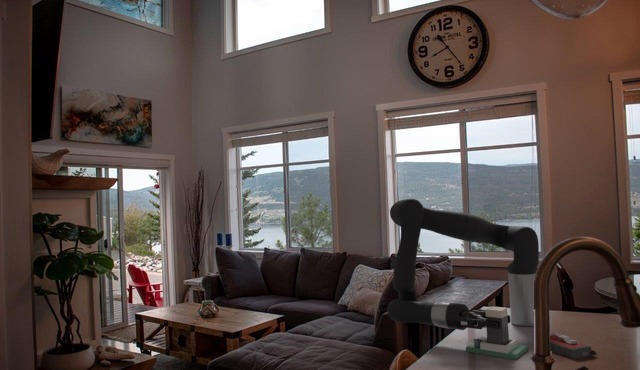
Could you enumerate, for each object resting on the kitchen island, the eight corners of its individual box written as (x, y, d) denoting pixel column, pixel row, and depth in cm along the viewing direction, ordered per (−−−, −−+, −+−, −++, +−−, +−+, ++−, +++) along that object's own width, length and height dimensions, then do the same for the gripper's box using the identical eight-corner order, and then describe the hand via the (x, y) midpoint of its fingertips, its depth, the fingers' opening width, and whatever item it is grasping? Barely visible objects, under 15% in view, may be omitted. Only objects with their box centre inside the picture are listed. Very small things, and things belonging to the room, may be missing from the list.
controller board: (479, 342, 149) (479, 330, 149) (527, 349, 140) (527, 336, 140) (466, 351, 141) (465, 337, 141) (515, 359, 132) (515, 345, 132)
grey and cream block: (493, 344, 142) (491, 306, 143) (509, 346, 139) (507, 307, 140) (487, 348, 139) (485, 309, 139) (503, 351, 136) (501, 310, 136)
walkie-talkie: (603, 357, 132) (548, 339, 151) (602, 340, 132) (547, 324, 151) (577, 362, 129) (524, 342, 148) (576, 345, 129) (523, 328, 148)
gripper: (438, 307, 143) (495, 313, 132) (459, 298, 154) (513, 303, 143) (439, 333, 143) (497, 341, 132) (460, 323, 154) (515, 329, 143)
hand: (505, 321), depth 138 cm, fingers open, 6 cm apart
